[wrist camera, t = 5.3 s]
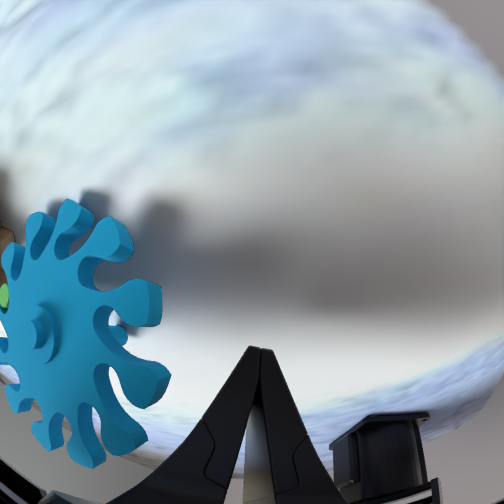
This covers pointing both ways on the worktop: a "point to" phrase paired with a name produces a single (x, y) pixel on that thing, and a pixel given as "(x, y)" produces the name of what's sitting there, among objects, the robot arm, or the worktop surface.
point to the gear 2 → (76, 334)
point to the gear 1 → (3, 238)
